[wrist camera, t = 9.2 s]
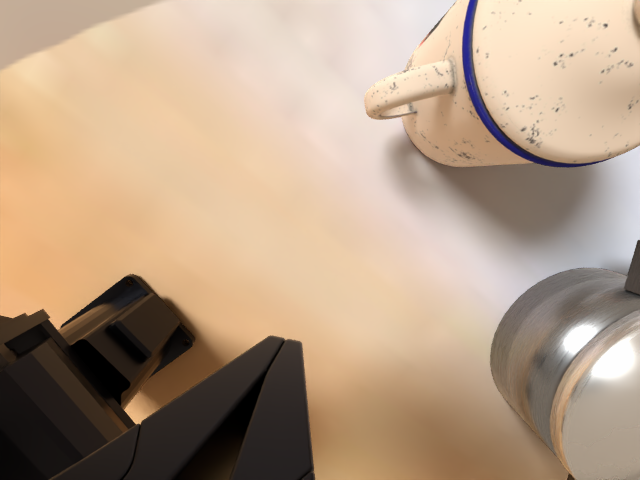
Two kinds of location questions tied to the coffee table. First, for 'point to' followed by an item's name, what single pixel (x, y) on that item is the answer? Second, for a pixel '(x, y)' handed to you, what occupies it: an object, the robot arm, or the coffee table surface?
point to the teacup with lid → (521, 84)
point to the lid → (601, 406)
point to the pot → (556, 335)
